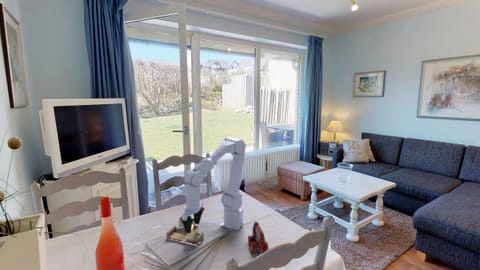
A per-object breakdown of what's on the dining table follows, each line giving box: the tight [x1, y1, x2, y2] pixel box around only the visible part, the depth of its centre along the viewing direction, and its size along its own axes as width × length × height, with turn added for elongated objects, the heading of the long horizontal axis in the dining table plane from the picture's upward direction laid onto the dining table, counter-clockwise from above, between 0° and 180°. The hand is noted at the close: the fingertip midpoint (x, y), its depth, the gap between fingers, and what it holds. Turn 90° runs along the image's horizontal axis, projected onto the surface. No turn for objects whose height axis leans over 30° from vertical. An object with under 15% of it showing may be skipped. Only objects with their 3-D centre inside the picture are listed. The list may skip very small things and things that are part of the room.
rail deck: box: [166, 225, 205, 246], centre depth 102 cm, size 15×6×3 cm, turn 72°
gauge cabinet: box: [178, 214, 196, 228], centre depth 112 cm, size 7×5×5 cm
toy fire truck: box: [247, 221, 269, 254], centre depth 98 cm, size 7×12×10 cm, turn 10°
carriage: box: [186, 225, 199, 242], centre depth 100 cm, size 5×4×5 cm
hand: (192, 228), depth 100 cm, fingers open, 7 cm apart
